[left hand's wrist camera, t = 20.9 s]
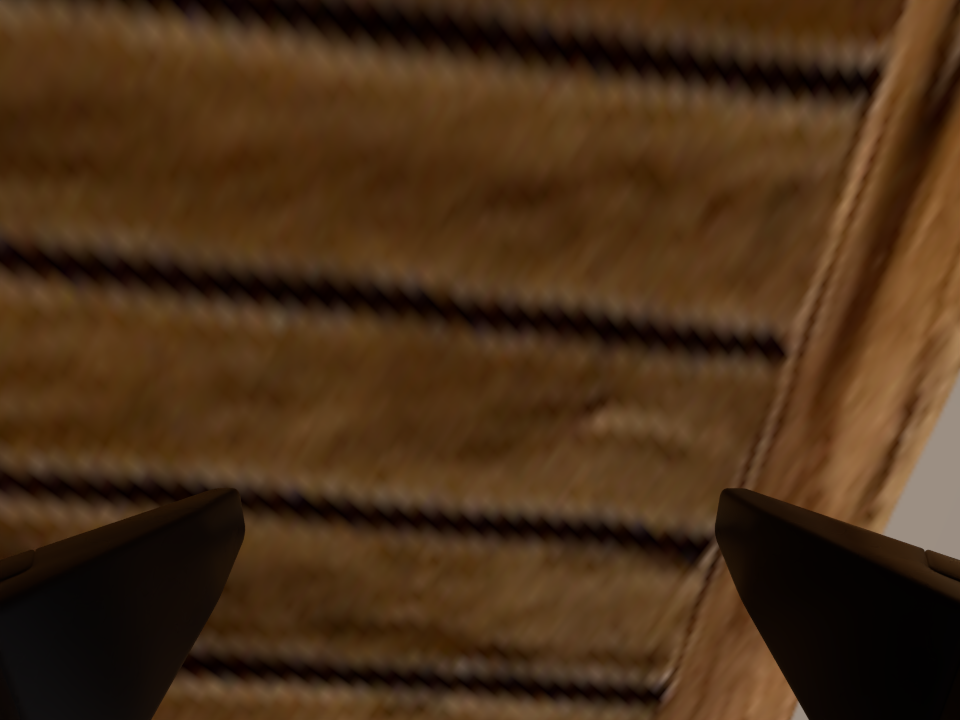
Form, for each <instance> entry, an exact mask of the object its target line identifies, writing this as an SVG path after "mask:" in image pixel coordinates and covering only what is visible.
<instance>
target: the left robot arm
mask: <svg viewBox="0 0 960 720" xmlns="http://www.w3.org/2000/svg"><path fill="white" fill-rule="evenodd" d="M244 535H245V523H244V517H243V511H242V505H241V499H240V495H239V492H238V491H237V490H236V489H234V488H217V489H212V490H209V491H206V492H203V493H200V494H197V495H194V496H192V497H189V498H186V499H183V500H180V501H177V502H174V503H171V504H168V505H165V506H162V507H159V508H156V509H153V510H150V511H147V512H144V513H141V514H138V515H135V516H132V517H129V518H126V519H123V520H120V521H118V522H115V523H112V524H109V525H106V526H103V527H100V528H97V529H94V530H91V531H88V532H85V533H82V534H79V535H76V536H73V537H70V538H67V539H64V540H61V541H58V542H55V543H52V544H49V545H46V546H44V547H41V548H38V549H36V551H34V550H29V551H26V552H23V553H20V554H17V555H14V556H11V557H8V558H5V559H2V560H0V720H151V719H152V717H153V715H154V714H155V712H156V710H157V708H158V707H159V705H160V703H161V701H162V700H163V698H164V696H165V694H166V692H167V691H168V689H169V687H170V685H171V684H172V682H173V680H174V678H175V677H176V675H177V673H178V671H179V669H180V668H181V666H182V664H183V662H184V661H185V659H186V657H187V655H188V654H189V652H190V650H191V648H192V647H193V645H194V643H195V641H196V639H197V638H198V636H199V634H200V632H201V631H202V629H203V627H204V625H205V624H206V622H207V620H208V618H209V617H210V615H211V613H212V611H213V609H214V607H215V606H216V604H217V602H218V600H219V598H220V596H221V593H222V591H223V589H224V586H225V584H226V581H227V579H228V577H229V574H230V572H231V569H232V567H233V564H234V562H235V559H236V557H237V555H238V552H239V550H240V547H241V545H242V542H243V539H244ZM715 535H716V539H717V542H718V545H719V547H720V550H721V552H722V555H723V557H724V559H725V562H726V564H727V567H728V569H729V572H730V574H731V577H732V579H733V581H734V584H735V586H736V589H737V591H738V593H739V596H740V598H741V600H742V602H743V604H744V606H745V607H746V609H747V611H748V613H749V615H750V617H751V618H752V620H753V622H754V624H755V625H756V627H757V629H758V631H759V632H760V634H761V636H762V638H763V639H764V641H765V643H766V645H767V647H768V648H769V650H770V652H771V654H772V655H773V657H774V659H775V661H776V662H777V664H778V666H779V668H780V670H781V671H782V673H783V675H784V677H785V678H786V680H787V682H788V684H789V685H790V687H791V689H792V691H793V692H794V694H795V696H796V698H797V700H798V701H799V703H800V705H801V707H802V708H803V710H804V712H805V714H806V715H807V717H808V719H809V720H960V560H958V559H955V558H952V557H949V556H946V555H943V554H940V553H937V552H934V551H931V550H926V551H924V549H922V548H919V547H916V546H914V545H910V544H908V543H905V542H902V541H899V540H896V539H893V538H890V537H887V536H884V535H881V534H878V533H875V532H872V531H869V530H866V529H863V528H860V527H857V526H854V525H851V524H848V523H845V522H842V521H840V520H837V519H834V518H831V517H828V516H825V515H822V514H819V513H816V512H813V511H810V510H807V509H804V508H801V507H798V506H795V505H792V504H789V503H786V502H783V501H780V500H777V499H774V498H771V497H768V496H766V495H763V494H760V493H757V492H754V491H751V490H748V489H743V488H726V489H724V490H723V491H722V492H721V495H720V499H719V505H718V511H717V517H716V523H715Z"/></svg>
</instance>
